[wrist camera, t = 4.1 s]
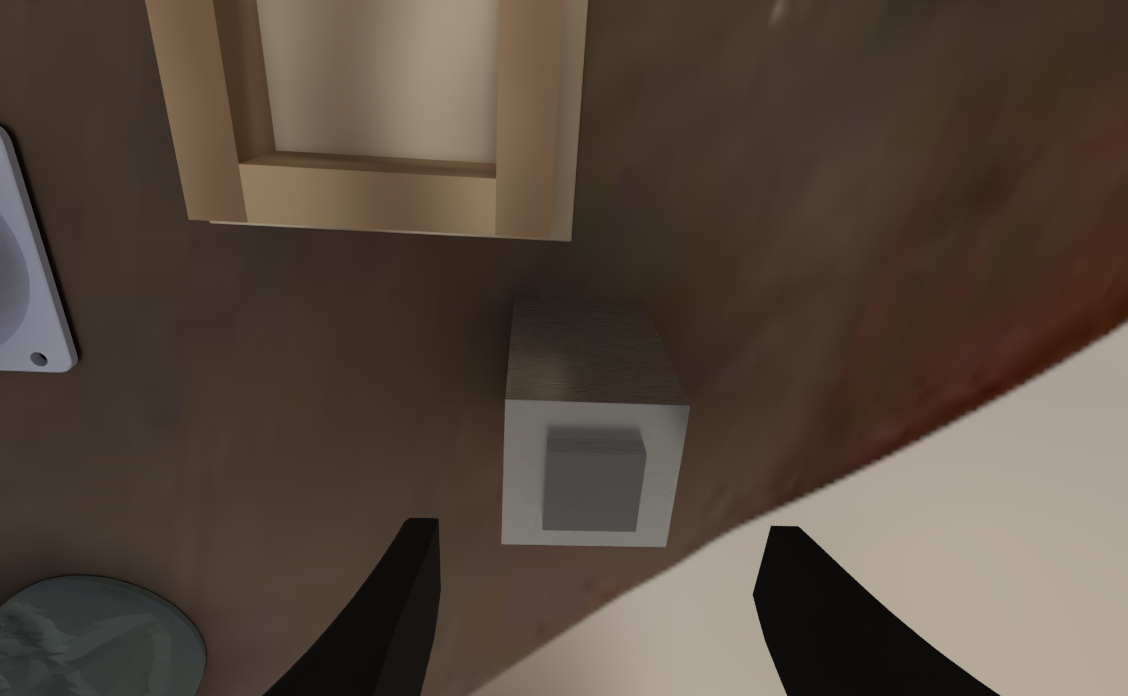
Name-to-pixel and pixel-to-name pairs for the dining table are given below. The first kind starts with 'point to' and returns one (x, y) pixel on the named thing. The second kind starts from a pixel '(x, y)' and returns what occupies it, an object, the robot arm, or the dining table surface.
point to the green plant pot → (96, 641)
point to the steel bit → (589, 426)
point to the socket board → (376, 112)
